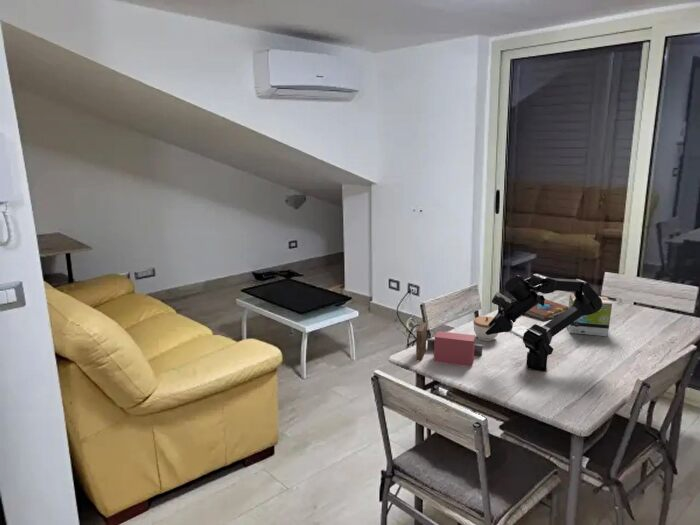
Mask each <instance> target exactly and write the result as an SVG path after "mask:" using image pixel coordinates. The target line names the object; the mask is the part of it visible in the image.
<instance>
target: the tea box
mask: <svg viewBox="0 0 700 525" xmlns="http://www.w3.org/2000/svg"><path fill="white" fill-rule="evenodd" d="M598 296H599V295H598ZM599 297H600V298H601V300H602V307H601V309H600V310H599V311H597V312H595V313H593V314H591V315H585V316H581V317H580V318H579V319H577V320H576V321H574V322H573V323H571V324H570V325H569V326H567V327H566V328H567V330H568V332H569V333H570V334H581V335H589V336H591V335H592V336H601V337H608V335H609V331H610V323H611V322H610V321H611V317H612V316H611V314H612V307H613V304H612V302H611V301H610V299H609V298H608V297H607V296H599ZM575 298H576V297H575V296H574V293H573V294H569V300H568V308H570V307H571V306H572V305H573V302H574V299H575Z"/></svg>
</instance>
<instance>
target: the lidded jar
mask: <svg viewBox="0 0 700 525" xmlns="http://www.w3.org/2000/svg"><path fill="white" fill-rule="evenodd" d="M493 318H494V317H492V316H488V315H487V316H477V317H475V318H474V319H473V332H474V335H475V336H476V337H478V339H479V340H480V341H483V342H491V341H494V339H495V338H497V336H498V335H499V333H496V334H490V335H487V334H486V333H485V332H486V331H487V330H488V329H489V328H490V326H489V325H488V324H489V323H490V322H491V320H492V319H493Z"/></svg>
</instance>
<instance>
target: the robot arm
mask: <svg viewBox="0 0 700 525" xmlns="http://www.w3.org/2000/svg"><path fill="white" fill-rule="evenodd" d="M591 286H592V285H591V284H590V283H589V282H588V281H585V280H582V279H578V278H576V279H572V278H571V279H570V278H568V279H567V278H552V277H549V276H546V275H542V274H540V273H533V274H532V275H531V276H530V277H528V278H525V279H524V278H523V277H522V276H520V275H519V274H517V275H515V277H512V278H510V279H508V280H507V281H506V282H505V284H504V290H505V291H506V293H509V295H511V297H513V298H512V299H510V298H508V297H507V296H506V295H504V294H502V293H500V292H498V291H496V293H495V294H494V296H493V297H492V299H491V304H494V305H496V306H498V308H497V313H496V314H495V316H494V317H493V319H492V320H491V322H490V323H489V324H488V325H489V326H490V328H489V329H488V330H487V331H486V332H485V333H486V334H487V335H490V334H496V333H498V334H501V333H510V331H511V330H512V328H513V327H514V323H515V322H517V319H519V318H520V317H523V316H526V312H527V311H529V310H530V309H531V308H533V307H534V306H536V305H537V304H538V303H539V304H541V305H542V306H544V301H545V299H546V298H545V296H544V295H546V294H552V293H554V292H559V291H561V292H563V291H564V292H573V295H574V296H575V297H576V298H575V299H574V302H573V305H572V306H571V307H570V308H568V309H567V310H565V311H564V312H562V313H561V314H560V315H557V316H554V318H551V320H550V321H548V322H546V324H544V325H542V326H541V325H539V324H537V323H534V324H532V326H530V327H529V328H528V329H527V330H528V331H526V332H525V333H524V335H523V338H522V342H523V344H524V346H525V349H528V351H527V353H526V363H525V364H526V366H527V369H528V370H534V371H543V372H547V370H548V366H547V364H548V357H549V355H550V356H551V355H552V354H553V351H554V348H553V346H551V345H550V344H551V342H552V339H553V337H555V336H556V335H558V334H559V333H561V332H562V331H563V330H564V329H565V328H568V327H567V326H569V325H570V324H571V323H573V322H574V321H576V320H577V319H579V318H580V317H581V316H585V315H591V314H593V313H595V312H597V311H599V310H600V309H601V307H602V300H601V298H600V297H599V294H598V293H597V292H596V291H595V290H594V289H593V287H591ZM537 292H539V293H541V294H544V295H541V294H538V293H537Z"/></svg>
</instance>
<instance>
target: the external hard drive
mask: <svg viewBox="0 0 700 525" xmlns="http://www.w3.org/2000/svg"><path fill="white" fill-rule="evenodd" d="M527 329H529V328H528V327H526V326H524V325H518V326H513V328H512V330H511V331H509V333H512V334H514V335H516V336H518V337H519V338H521V339H523V335H524V333H525V332H526V331H528V330H527Z"/></svg>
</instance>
